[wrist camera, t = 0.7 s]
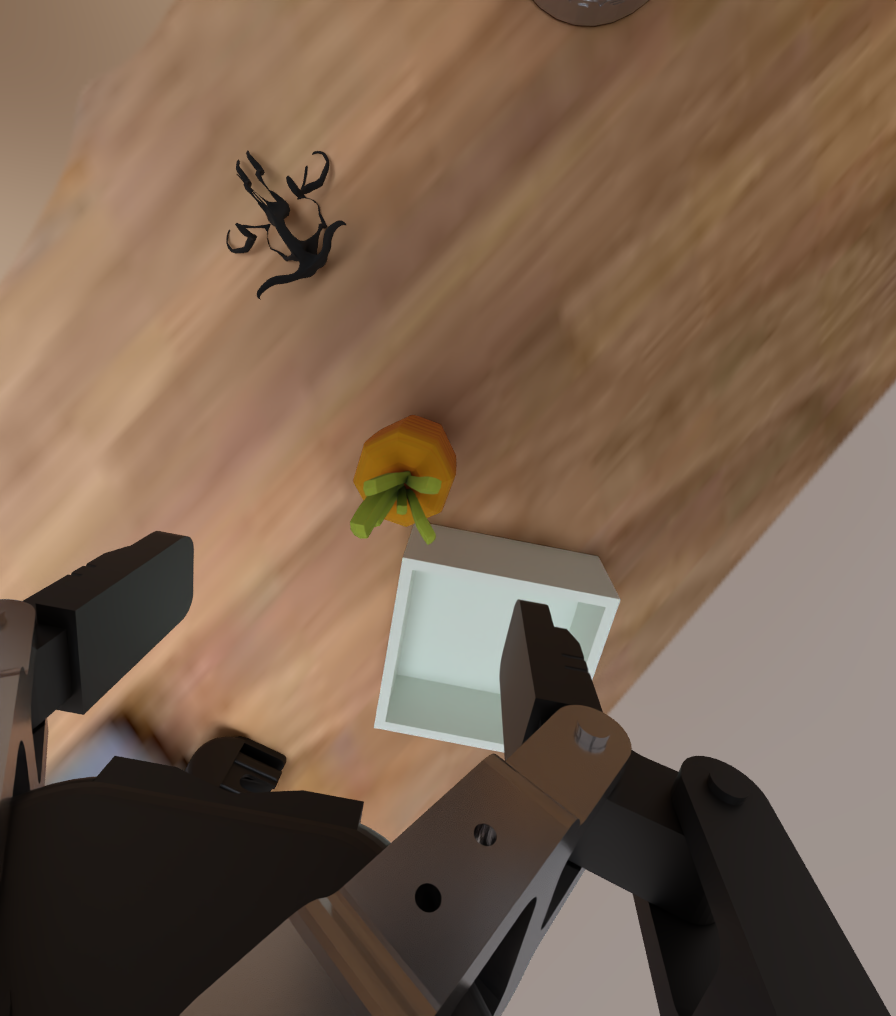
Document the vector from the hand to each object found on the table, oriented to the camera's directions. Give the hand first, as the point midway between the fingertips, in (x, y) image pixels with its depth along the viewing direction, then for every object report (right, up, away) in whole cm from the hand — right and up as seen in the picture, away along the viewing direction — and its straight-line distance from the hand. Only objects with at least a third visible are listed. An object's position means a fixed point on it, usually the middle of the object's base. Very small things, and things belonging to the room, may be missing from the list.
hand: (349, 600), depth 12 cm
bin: (+5, -6, +26) cm, 27 cm away
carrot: (+1, +7, +21) cm, 23 cm away
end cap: (-17, -22, +33) cm, 43 cm away
